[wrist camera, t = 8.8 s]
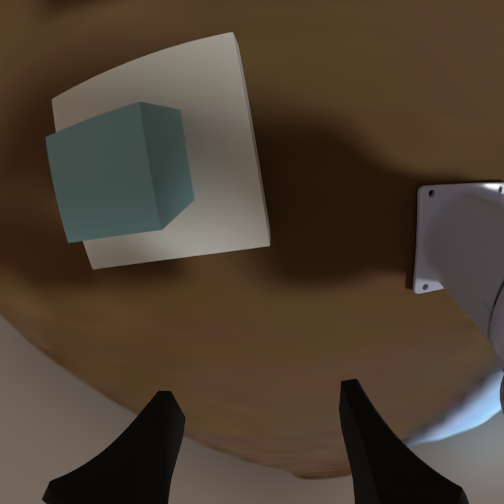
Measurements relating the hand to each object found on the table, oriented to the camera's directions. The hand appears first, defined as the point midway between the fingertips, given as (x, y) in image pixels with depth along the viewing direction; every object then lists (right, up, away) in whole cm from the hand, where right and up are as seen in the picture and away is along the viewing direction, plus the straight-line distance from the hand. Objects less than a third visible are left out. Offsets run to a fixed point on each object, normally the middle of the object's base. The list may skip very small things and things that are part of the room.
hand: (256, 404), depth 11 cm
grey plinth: (-6, +13, +6) cm, 15 cm away
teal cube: (-6, +11, +4) cm, 13 cm away
